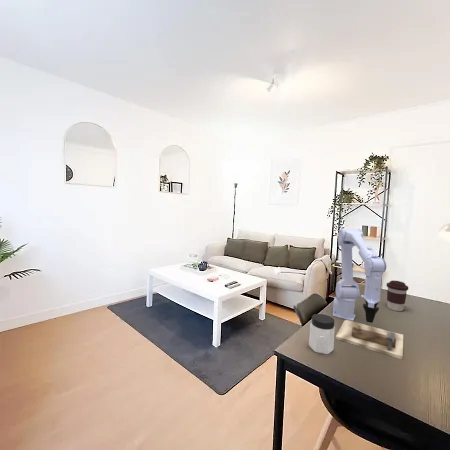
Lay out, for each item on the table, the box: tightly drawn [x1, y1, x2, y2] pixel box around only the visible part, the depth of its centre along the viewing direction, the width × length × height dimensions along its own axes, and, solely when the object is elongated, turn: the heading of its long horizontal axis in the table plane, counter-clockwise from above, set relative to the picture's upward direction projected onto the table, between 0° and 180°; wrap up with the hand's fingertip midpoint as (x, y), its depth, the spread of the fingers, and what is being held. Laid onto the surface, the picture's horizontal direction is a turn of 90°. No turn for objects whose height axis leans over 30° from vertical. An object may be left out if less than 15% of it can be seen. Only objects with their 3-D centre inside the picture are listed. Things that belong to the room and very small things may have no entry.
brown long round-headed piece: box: [352, 327, 396, 348], centre depth 105 cm, size 15×4×3 cm, turn 59°
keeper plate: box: [335, 319, 404, 360], centre depth 109 cm, size 23×20×6 cm
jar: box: [308, 313, 336, 355], centre depth 100 cm, size 9×8×12 cm
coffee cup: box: [386, 280, 409, 312], centre depth 142 cm, size 10×10×15 cm
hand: (369, 318), depth 108 cm, fingers open, 7 cm apart
